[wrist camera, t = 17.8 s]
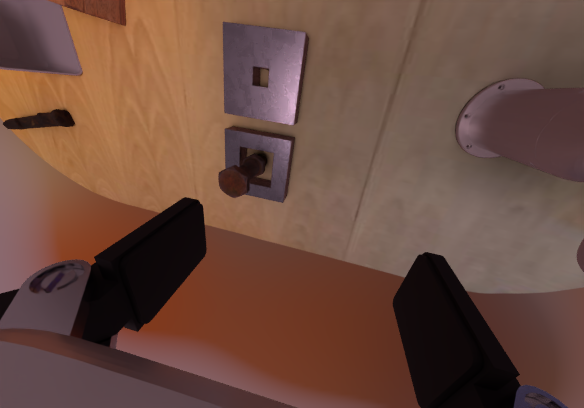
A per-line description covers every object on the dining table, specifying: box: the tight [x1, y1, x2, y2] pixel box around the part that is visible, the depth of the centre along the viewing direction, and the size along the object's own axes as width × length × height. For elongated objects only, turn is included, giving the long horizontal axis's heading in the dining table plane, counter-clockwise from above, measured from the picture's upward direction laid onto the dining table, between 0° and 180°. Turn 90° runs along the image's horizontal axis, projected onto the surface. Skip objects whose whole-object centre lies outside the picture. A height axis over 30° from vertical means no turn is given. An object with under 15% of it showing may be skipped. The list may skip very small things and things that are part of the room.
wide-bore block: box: [225, 126, 295, 203], centre depth 47 cm, size 14×14×4 cm
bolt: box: [219, 154, 267, 198], centre depth 42 cm, size 6×5×15 cm
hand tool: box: [3, 109, 75, 129], centre depth 54 cm, size 19×4×5 cm, turn 93°
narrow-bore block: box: [223, 22, 309, 125], centre depth 39 cm, size 14×14×4 cm
